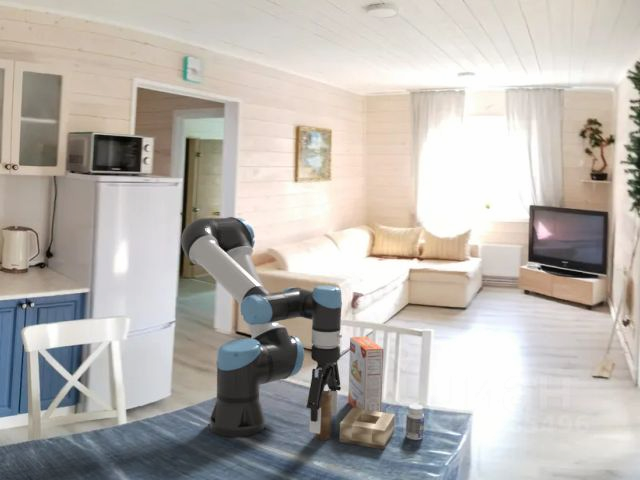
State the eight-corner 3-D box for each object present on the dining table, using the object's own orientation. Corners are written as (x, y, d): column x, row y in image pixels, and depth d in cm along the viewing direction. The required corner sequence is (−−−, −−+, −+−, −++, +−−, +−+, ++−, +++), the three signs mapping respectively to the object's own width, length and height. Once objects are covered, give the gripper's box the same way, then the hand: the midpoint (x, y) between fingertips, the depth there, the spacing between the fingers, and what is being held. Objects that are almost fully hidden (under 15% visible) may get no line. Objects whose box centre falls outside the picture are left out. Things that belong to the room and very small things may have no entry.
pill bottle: (422, 441, 159) (424, 410, 158) (405, 439, 160) (406, 408, 159) (423, 433, 163) (425, 404, 162) (406, 431, 164) (407, 402, 163)
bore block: (339, 441, 157) (340, 423, 156) (352, 424, 168) (353, 407, 168) (383, 449, 153) (384, 430, 152) (394, 431, 164) (394, 414, 164)
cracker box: (346, 402, 185) (349, 336, 183) (364, 400, 187) (367, 335, 185) (362, 419, 172) (365, 349, 170) (381, 418, 173) (384, 348, 171)
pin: (313, 438, 158) (314, 394, 157) (318, 432, 162) (319, 389, 161) (327, 441, 157) (328, 397, 156) (332, 435, 161) (333, 392, 159)
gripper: (323, 359, 144) (321, 443, 146) (352, 335, 167) (350, 408, 169) (295, 355, 146) (292, 438, 148) (327, 332, 170) (325, 404, 172)
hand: (323, 422), depth 159 cm, fingers open, 13 cm apart
